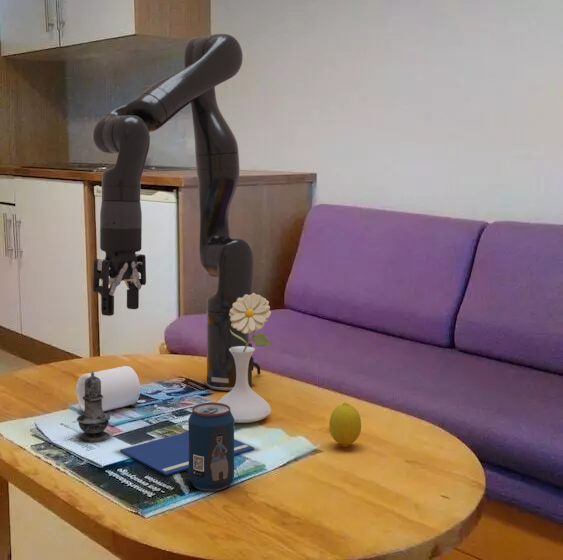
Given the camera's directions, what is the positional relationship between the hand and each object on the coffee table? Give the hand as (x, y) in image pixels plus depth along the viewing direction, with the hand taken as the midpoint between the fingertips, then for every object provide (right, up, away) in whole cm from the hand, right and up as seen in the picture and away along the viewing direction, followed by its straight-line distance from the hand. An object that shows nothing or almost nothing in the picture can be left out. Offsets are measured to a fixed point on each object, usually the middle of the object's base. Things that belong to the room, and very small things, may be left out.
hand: (120, 311), depth 144 cm
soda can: (+19, -26, -26) cm, 41 cm away
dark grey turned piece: (-3, -22, -6) cm, 23 cm away
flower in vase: (+23, -21, +5) cm, 32 cm away
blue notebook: (+14, -23, -12) cm, 30 cm away
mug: (-6, -20, +11) cm, 24 cm away
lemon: (+41, -23, -10) cm, 48 cm away
